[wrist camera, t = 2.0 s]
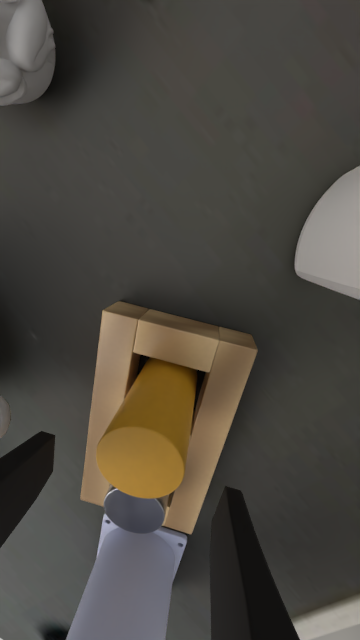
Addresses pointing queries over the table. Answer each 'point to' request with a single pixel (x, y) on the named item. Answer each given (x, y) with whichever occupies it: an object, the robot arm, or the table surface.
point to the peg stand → (212, 405)
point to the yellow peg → (150, 432)
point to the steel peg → (135, 511)
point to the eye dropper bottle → (333, 238)
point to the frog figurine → (25, 51)
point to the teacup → (4, 416)
